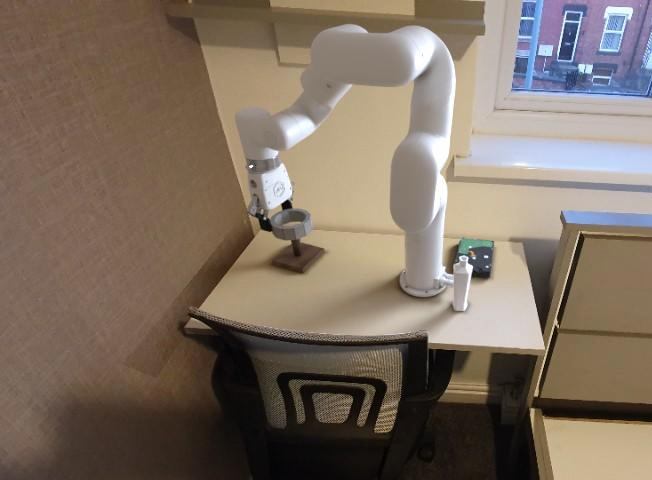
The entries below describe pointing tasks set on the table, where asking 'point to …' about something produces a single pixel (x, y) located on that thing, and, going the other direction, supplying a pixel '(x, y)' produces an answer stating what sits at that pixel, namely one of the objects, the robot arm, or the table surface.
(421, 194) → the robot arm
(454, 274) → the perfume bottle
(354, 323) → the table surface
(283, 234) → the tape roll
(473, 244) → the disk drive
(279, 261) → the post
